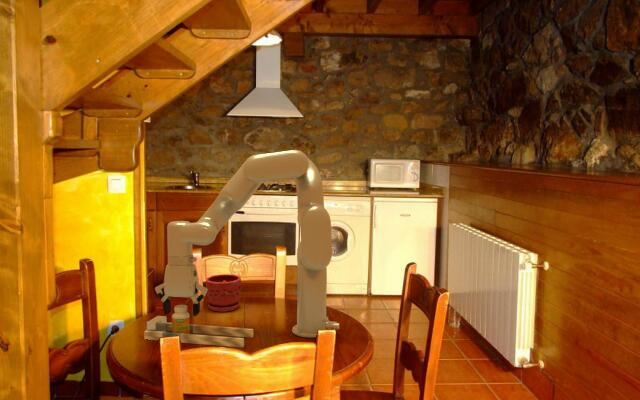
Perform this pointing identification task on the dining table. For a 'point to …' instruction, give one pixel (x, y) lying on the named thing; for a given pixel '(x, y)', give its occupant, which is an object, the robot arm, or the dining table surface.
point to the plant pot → (223, 292)
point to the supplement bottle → (181, 320)
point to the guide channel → (160, 327)
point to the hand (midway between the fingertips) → (181, 314)
